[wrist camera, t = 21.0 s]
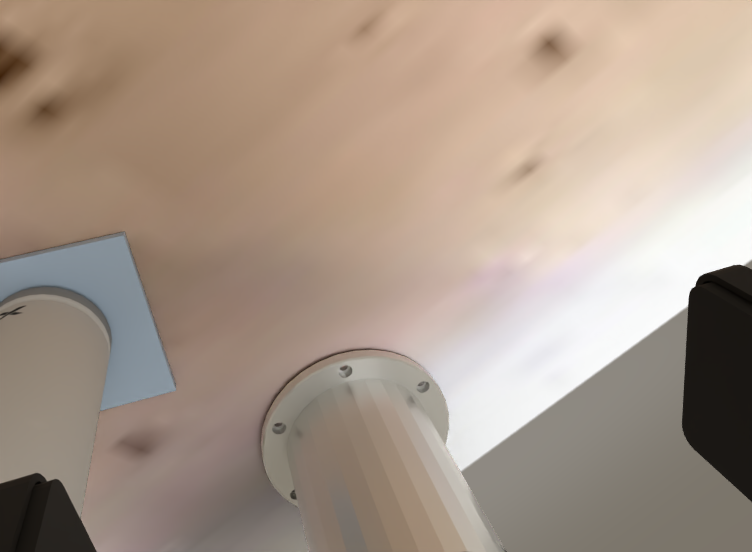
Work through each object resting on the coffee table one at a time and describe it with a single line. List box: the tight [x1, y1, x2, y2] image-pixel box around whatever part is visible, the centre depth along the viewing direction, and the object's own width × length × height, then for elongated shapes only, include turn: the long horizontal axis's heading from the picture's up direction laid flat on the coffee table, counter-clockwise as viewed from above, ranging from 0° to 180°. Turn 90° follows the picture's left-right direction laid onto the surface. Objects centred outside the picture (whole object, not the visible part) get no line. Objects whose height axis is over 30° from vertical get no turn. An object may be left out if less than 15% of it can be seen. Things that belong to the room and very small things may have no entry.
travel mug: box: [0, 287, 112, 519], centre depth 27 cm, size 6×7×20 cm
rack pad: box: [0, 232, 176, 411], centre depth 37 cm, size 10×10×1 cm
